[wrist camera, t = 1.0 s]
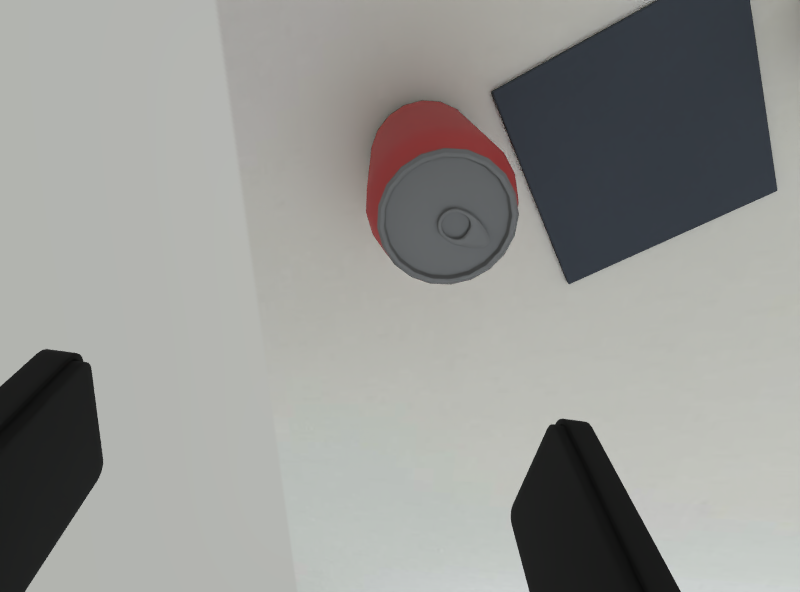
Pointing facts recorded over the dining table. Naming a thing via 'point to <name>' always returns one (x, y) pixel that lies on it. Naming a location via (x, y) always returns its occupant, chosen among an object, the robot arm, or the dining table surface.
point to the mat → (642, 130)
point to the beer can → (440, 194)
